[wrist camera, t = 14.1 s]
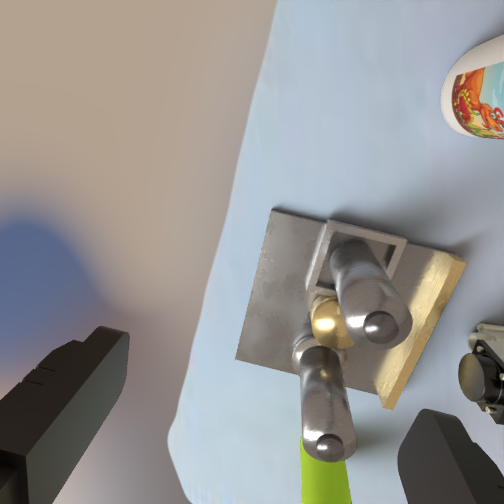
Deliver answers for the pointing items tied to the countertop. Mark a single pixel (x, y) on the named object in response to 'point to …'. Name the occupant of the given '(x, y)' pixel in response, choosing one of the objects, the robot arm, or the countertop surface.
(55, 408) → the robot arm
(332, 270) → the cylinder
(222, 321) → the countertop surface
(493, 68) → the milk bottle
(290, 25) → the countertop surface
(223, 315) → the countertop surface
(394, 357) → the carrier plate
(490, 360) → the pneumatic valve
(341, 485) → the soap dispenser
